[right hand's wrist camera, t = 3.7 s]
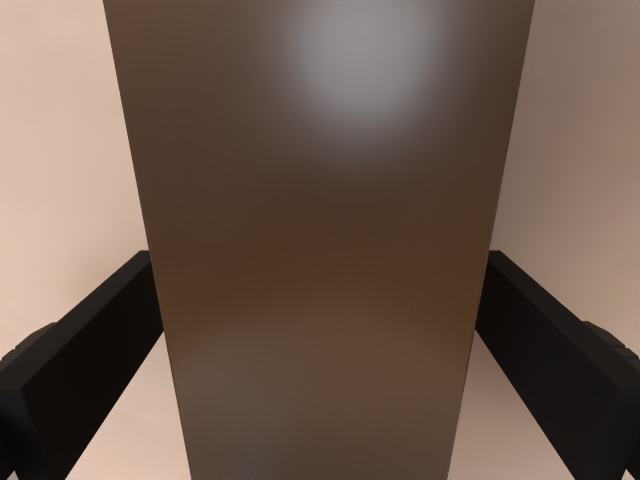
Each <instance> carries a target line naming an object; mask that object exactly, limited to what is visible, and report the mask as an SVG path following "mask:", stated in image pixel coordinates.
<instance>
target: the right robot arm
mask: <svg viewBox="0 0 640 480" xmlns="http://www.w3.org/2000/svg"><path fill="white" fill-rule="evenodd" d="M475 330H476V331H477V333H478V334H479V336H480V337H481V339H482V340H483V342H484V343H485V345H486V346H487V348H488V349H489V351H490V352H491V354H492V355H493V357H494V358H495V360H496V361H497V363H498V364H499V366H500V367H501V369H502V370H503V372H504V373H505V375H506V376H507V378H508V379H509V381H510V382H511V384H512V385H513V387H514V388H515V390H516V391H517V393H518V394H519V396H520V397H521V399H522V400H523V402H524V403H525V405H526V406H527V408H528V409H529V411H530V412H531V414H532V415H533V417H534V419H535V420H536V422H537V423H538V425H539V426H540V428H541V429H542V431H543V432H544V434H545V435H546V437H547V438H548V440H549V441H550V443H551V444H552V446H553V447H554V449H555V450H556V452H557V453H558V455H559V456H560V458H561V459H562V461H563V462H564V464H565V465H566V467H567V468H568V470H569V471H570V473H571V474H572V476H573V477H574V479H575V480H621V479H622V477H623V475H624V472H625V470H626V469H627V470H628V472H629V473H630V474H631V475H632V476H633V478H634V479H635V480H640V359H639V356H637V355H636V354H635V353H634V352H633V351H631V350H630V349H629V348H625V345H624V344H623V343H622V342H620V341H619V340H618V339H617V338H615V337H614V336H613V335H612V334H611V333H609V332H608V331H606V330H604V329H602V328H600V327H598V326H596V325H594V324H592V323H591V322H589V321H581V320H580V319H579V318H577V317H576V316H575V315H574V314H573V313H572V312H570V311H569V310H568V309H567V308H566V307H565V306H564V305H562V304H561V303H560V302H559V301H558V300H557V299H555V298H554V297H553V296H552V295H551V294H550V293H548V292H547V291H546V290H545V289H544V288H543V287H542V286H540V285H539V284H538V283H537V282H536V281H535V280H533V279H532V278H531V277H530V276H529V275H528V274H526V273H525V272H524V271H523V270H522V269H521V268H519V267H518V266H517V265H516V264H515V263H514V262H513V261H511V260H510V259H509V258H508V257H507V256H506V255H504V254H503V253H502V252H501V251H500V250H489V254H488V259H487V265H486V270H485V276H484V281H483V287H482V292H481V298H480V303H479V309H478V314H477V320H476V325H475ZM163 331H164V328H163V323H162V318H161V312H160V307H159V301H158V296H157V291H156V285H155V280H154V274H153V269H152V264H151V258H150V253H149V250H140V251H139V252H138V253H137V254H136V255H134V256H133V257H132V258H131V259H130V260H129V261H127V262H126V263H125V264H124V265H123V266H122V267H121V268H119V269H118V270H117V271H116V272H115V273H114V274H112V275H111V276H110V277H109V278H108V279H107V280H105V281H104V282H103V283H102V284H101V285H100V286H98V287H97V288H96V289H95V290H94V291H93V292H92V293H90V294H89V295H88V296H87V297H86V298H85V299H83V300H82V301H81V302H80V303H79V304H78V305H76V306H75V307H74V308H73V309H72V310H71V311H70V312H68V313H67V314H66V315H65V316H64V317H63V318H61V319H60V320H59V321H58V322H52V323H50V324H48V325H47V326H45V327H43V328H41V329H39V330H37V331H35V332H33V333H32V334H30V335H29V336H28V337H27V338H25V339H24V340H23V341H22V342H21V343H19V344H18V345H17V346H16V347H15V349H12V350H11V351H10V352H8V353H7V354H6V355H5V356H4V357H2V360H1V361H0V480H7V479H8V477H9V476H10V475H11V474H12V472H13V471H14V470H15V472H16V475H17V477H18V479H19V480H65V479H66V477H67V476H68V474H69V473H70V471H71V470H72V468H73V467H74V465H75V464H76V462H77V461H78V459H79V458H80V456H81V455H82V453H83V452H84V450H85V449H86V447H87V446H88V444H89V443H90V441H91V440H92V438H93V437H94V435H95V434H96V432H97V431H98V429H99V428H100V426H101V425H102V423H103V422H104V420H105V418H106V417H107V415H108V414H109V412H110V411H111V409H112V408H113V406H114V405H115V403H116V402H117V400H118V399H119V397H120V396H121V394H122V393H123V391H124V390H125V388H126V387H127V385H128V384H129V382H130V381H131V379H132V378H133V376H134V375H135V373H136V372H137V370H138V369H139V367H140V366H141V364H142V363H143V361H144V360H145V358H146V357H147V355H148V354H149V352H150V351H151V349H152V348H153V346H154V345H155V343H156V342H157V340H158V339H159V337H160V336H161V334H162V333H163Z"/></svg>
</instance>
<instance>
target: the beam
mask: <svg viewBox="0 0 640 480" xmlns="http://www.w3.org/2000/svg"><path fill="white" fill-rule="evenodd" d="M534 3H535V0H103V4H104V9H105V15H106V20H107V26H108V31H109V36H110V42H111V47H112V53H113V58H114V64H115V69H116V74H117V80H118V85H119V91H120V96H121V101H122V107H123V112H124V118H125V123H126V128H127V134H128V139H129V145H130V150H131V155H132V161H133V166H134V172H135V177H136V182H137V188H138V193H139V199H140V204H141V209H142V215H143V220H144V226H145V231H146V236H147V242H148V247H149V253H150V258H151V264H152V269H153V274H154V280H155V285H156V291H157V296H158V301H159V307H160V312H161V318H162V323H163V328H164V334H165V339H166V345H167V350H168V355H169V361H170V366H171V372H172V377H173V382H174V388H175V393H176V399H177V404H178V409H179V415H180V420H181V426H182V431H183V436H184V442H185V447H186V453H187V458H188V463H189V469H190V474H191V480H447V478H448V473H449V467H450V462H451V456H452V451H453V445H454V440H455V434H456V429H457V423H458V418H459V412H460V407H461V401H462V396H463V391H464V385H465V380H466V374H467V369H468V363H469V358H470V352H471V347H472V341H473V336H474V330H475V325H476V320H477V314H478V309H479V303H480V298H481V292H482V287H483V281H484V276H485V270H486V265H487V259H488V254H489V248H490V243H491V238H492V232H493V227H494V221H495V216H496V210H497V205H498V199H499V194H500V188H501V183H502V177H503V172H504V167H505V161H506V156H507V150H508V145H509V139H510V134H511V128H512V123H513V117H514V112H515V106H516V101H517V96H518V90H519V85H520V79H521V74H522V68H523V63H524V57H525V52H526V46H527V41H528V35H529V30H530V24H531V19H532V14H533V8H534Z"/></svg>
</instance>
